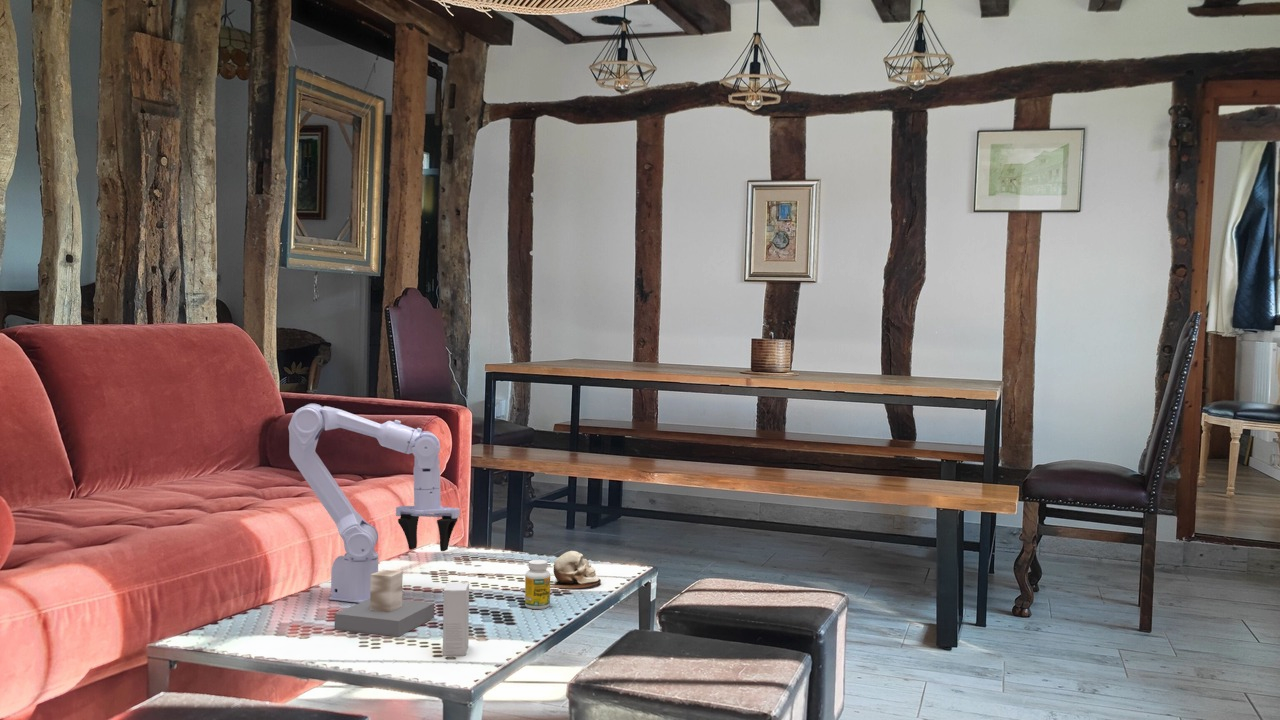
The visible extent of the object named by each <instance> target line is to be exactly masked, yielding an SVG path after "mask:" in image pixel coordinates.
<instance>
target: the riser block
mask: <svg viewBox="0 0 1280 720" xmlns="http://www.w3.org/2000/svg"><path fill="white" fill-rule="evenodd" d="M434 618H435V603H434V602H428V601H427V602H426V601H415V600H407V599H402V607H400V608H398V609H396V610H394V611H392V612H385V611H376V610H370V599H367V600H365V601H363V602H360V603H356V604H354V605H352V606H349V607H347V608H345V609H343V610H341V611H338V612H336V613H334V630H337V631H338V630H339V631H346V632H347V631H348V632H356V633H364V634H373V635H382V636H390V637H396V638H397V637H400V636H403V635H404V634H406V633H409V632H410V631H412V630H414V629H416V628H417V627H419V626H421V625H423V624H425V623H427V622H429V621H430V620H433V619H434Z"/></svg>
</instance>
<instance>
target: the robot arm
mask: <svg viewBox="0 0 1280 720" xmlns="http://www.w3.org/2000/svg"><path fill="white" fill-rule="evenodd" d="M287 427H288V433H289V435H288V437H289V438H288V439H289V447H288V449H289V458H290V459H291V460H292V462H293V464H294V465H295V467H296V468H297V469H298V471H299V472H300V474H301V475H302V477H303V478H304V480H305V481H306V482H307V484H308V486H309V487H310V489H311V490H312V491H313V493H314V495H315V496H316V497H317V499H318V500H319V502H320V503H321V505H322V506H323V508H324V509H325V510H326V512H327V514H329V516H330V517H331V519H332V520H333V522H334V523H335V525H336V527H337V531H338V533H339V535H340V537H341V539H342V541H343V546H344V551H345V553H344V555H340V556H337V557H336V558H335V559H334V561H333V563H332V566H331V572H330V573H331V574H330V577H331V578H330V579H331V580H330V581H331V582H330V596H329V597H328V600H331V601H340V602H349V603H356V604H358V603H360V602H363V601H365V600H367V599H370V586H371V574H373V573H376V572H378V571H379V554H378V552H377V551H376V550H375V547H376V545H377V543H378V540H379V534H378V531H377V529H376V527H375V526H374V525H372V524H371V523H368V522H367V521H366V520H365V518H363V516H362V515H361V514H360V513H359V512H357V510H356V508H354V506H353V505H352V503H351V502H350V500H349V499H348V497H347V496H346V495H345V492H344V491H343V490H342V489H341V487H340V485H339V484H338V483H337V481H336V479H335V478H334V477H333V475H332V474H331V472H330V471H329V469H328V468H327V467H326V465H325V464H324V462H323V460H322V459H321V458H320V455H318V453H317V452H316V448H317V445H318V442H319V437H320V435H321V433H322V432H323V431H331V430H336V429H344V430H347V431H350V432H355V433H358V434H362V435H365V436H369V437H371V438H375V439H376V440H377V441H378V444H379V445H380V446H382V447H384V448H387V449H391V450H393V451H396V452H400V453H403V454H407V455H410V454H412V455H413V456H414V458H413V459H414V466H413V505H399V506H396V507H395V516H396V517H399V518H398V519H397V523H398V525H400V528H401V530H402V531H403V534H404V536H405V538H406V541H407V545H408V549H409V551H412V550H415V549H417V546H418V524H419V517H422V518H423V517H424V518H425V517H427V518H428V517H429V518H431V517H432V518H440V519H437V520H436V524H437V529H438V532H439V548H440V549H439V550H440V552H445V551H447V550H449V544H450V540H451V536H452V534H453V530H454V528H455V526H456V525H457V522H458V518H460V516H461V513H460V512H461V511H460V508H459V507H449V506H442V501H441V500H442V499H441V495H442V494H441V490H442V489H441V466H440V460H441V459H440V457H439V454H440V451H441V444H440V439H439V438H438V437H437V435H435V434H434V433H432V432H431V431H428V430H423V429H422V428H420V427H417V428H413V427H411V426H409V425H408V426H407V425H405V424H402V421H401V420H398V419H395V420H394V421H392V420H387V421H386V422H383V423H380V422H379V423H378V422H376V421H374V420H370V419H368V418H365V417H362V416H359V415H357V414H354V413H351V412H348V411H346V410H343V409H340V408H335V407H333V406H332V407H331V406H327V405H324V406H322V405H320V404H317V403H308V404H305V405H304V406H302V407H300V408H298V409H296V410H295V412H294V413H293V414H292V417H291V419H290V421H289V424H288V426H287Z"/></svg>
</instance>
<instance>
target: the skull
mask: <svg viewBox="0 0 1280 720" xmlns="http://www.w3.org/2000/svg"><path fill="white" fill-rule="evenodd" d="M553 576H554V577H555V580H556V581H557V582H555V583H554V584H551V583H550V586H552V587H553V588H557V589H567V590H569V589H582V588H588V587H593V586H596V585H598V584H600V583H601V579H600V577H599V576H598V575H597V573H596V569H595V568H594V567H593V566H592V564H590V562H589V560H588V559H586V558H584V555H583V554H582V553H581V552H578V551H577V550H570V551H566V552H564V553H562V554H561V555H560V556H558V558H557V559H555V561H554V564H553Z"/></svg>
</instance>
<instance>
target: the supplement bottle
mask: <svg viewBox="0 0 1280 720" xmlns="http://www.w3.org/2000/svg"><path fill="white" fill-rule="evenodd" d="M527 567H528V569H529V570H527V571H526V573H525V575H524V576H525V577H524V580H525V581H524V584H525V585H524V586H525V587H524V588H525V590H524V594H525V595H524V605H525V607H526V608H527V609H531V610H542V609H547V608H549V607H550V605H551V573H550V571H548V570H547V569H548V561H547V560H544V559H532V560H529V561H528V566H527Z"/></svg>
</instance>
